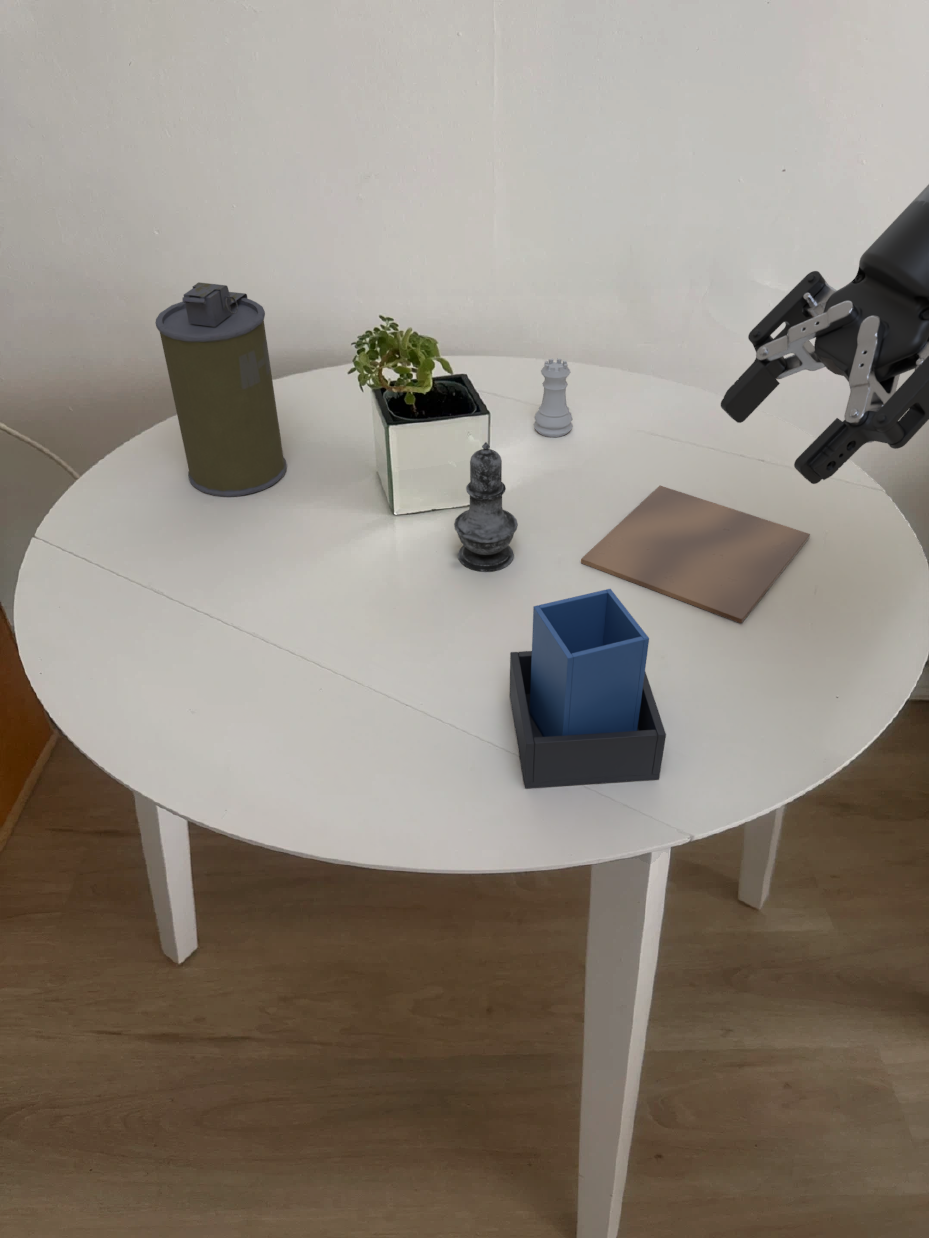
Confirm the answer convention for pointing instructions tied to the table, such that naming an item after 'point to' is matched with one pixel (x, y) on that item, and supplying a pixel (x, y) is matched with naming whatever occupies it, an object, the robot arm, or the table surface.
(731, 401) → the robot arm
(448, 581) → the table surface
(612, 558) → the cork mat
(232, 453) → the canister
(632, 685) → the blue bin
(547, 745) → the black bin
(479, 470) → the dark grey tall piece
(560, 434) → the rook chess piece
